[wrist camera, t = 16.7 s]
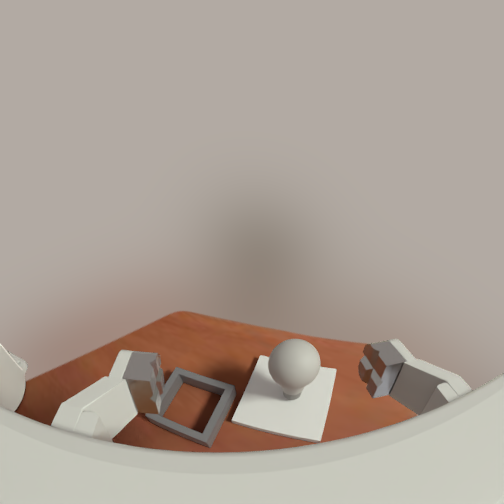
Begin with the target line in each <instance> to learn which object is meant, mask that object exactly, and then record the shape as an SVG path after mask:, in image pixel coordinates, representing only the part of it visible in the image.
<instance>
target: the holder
mask: <svg viewBox="0 0 504 504" xmlns="http://www.w3.org/2000/svg"><path fill="white" fill-rule="evenodd" d="M183 382H184V383H186V384H189V385H192V386H195V387H197V388H200V389H203V390H206V391H209V392H212V393H215V394H219V395H222V396H221V398H220V400H219V402H218V404H217V406H216V408H215V410H214V412H213V414H212V416H211V418H210V420H209V422H208V424H207V426H206V428H205V430H204V432H203V433H200V432H197V431H194V430H192V429H189V428H187V427H185V426H182V425H180V424H177V423H175V422H173V421H171V420H168V419H166V418H164V417H162V416H163V415H164V413H165V411H166V410H167V408H168V406H169V405H170V403H171V402H172V400H173V398H174V397H175V395H176V393H177V392H178V390H179V388H180V387H181V385H182V384H183ZM236 394H237V393H236V390H235V386H234V385H231V384H227V383H224V382H221V381H217V380H214V379H211V378H208V377H205V376H201V375H198V374H195V373H192V372H190V371H187V370H184V369H181V368H178V367H176V368H175V370H174V371H173V373H172V374H171V376H170V378H169V379H168V381H167V382H166V384H165V385H164V390H163V393H162V394H161V395H160V398H161V407H160V412H159V414H149V413H146V415H145V416H146V417H147V418H148V419H149V420H150V422H151V423H153V424H155V425H157V426H160V427H162V428H164V429H166V430H168V431H170V432H172V433H175V434H177V435H179V436H182V437H184V438H186V439H189V440H191V441H194V442H196V443H199V444H201V445H204V446H206V447H209V448H211V446H212V444H213V442H214V440H215V438H216V436H217V434H218V432H219V430H220V428H221V425H222V423H223V421H224V419H225V417H226V415H227V413H228V411H229V409H230V407H231V405H232V402H233V400H234V398H235V396H236Z"/></svg>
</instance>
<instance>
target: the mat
mask: <svg viewBox="0 0 504 504" xmlns="http://www.w3.org/2000/svg"><path fill="white" fill-rule="evenodd" d="M268 361H269V357H266V356H262V355H260V357H259V359H258V362H257V364H256V366H255V369H254V371H253V373H252V376H251V378H250V380H249V383H248V385H247V387H246V389H245V392H244V394H243V396H242V398H241V401H240V403H239V405H238V407H237V409H236V412H235V414H234V416H233V418H232V423H235V424H238V425H241V426H245V427H248V428H252V429H256V430H259V431H263V432H267V433H271V434H276V435H280V436H285V437H289V438H294V439H299V440H305V441H310V442H316V443H320V441H321V437H322V433H323V429H324V425H325V421H326V417H327V413H328V408H329V404H330V399H331V395H332V390H333V385H334V380H335V375H336V369H332V368H325V367H320V370H319V373H318V375H317V376H316V378H315V379H314V380H313V381H312V382H311V383H310V384H309V385H307V386H305V387H304V389H303V391H302V393H301V395H300V397H299V398H297V399H295V400H288V399H286V398H285V397H284V395H283V390H282V389H281V386H280V385H279V384H277V383H276V382H275V381H274V380H273V379H272V377H271V375H270V373H269V369H268Z"/></svg>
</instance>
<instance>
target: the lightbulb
mask: <svg viewBox="0 0 504 504" xmlns="http://www.w3.org/2000/svg"><path fill="white" fill-rule="evenodd" d="M268 369H269V373H270V375H271V377H272V379H273V380H274V381H275V382H276V383H277V384H279V385H280V386H281V389H282V390H283V395H284V397H285V398H286V399H288V400H295V399H297V398H299V397H300V395H301V393H302V391H303V389H304V387H305V386H307V385H309V384H310V383H311V382H312V381H313V380H314V379H315V378H316V376H317V375H318V373H319V370H320V357H319V354H318V352H317V350H316V349H315V347H314V346H312V345H311V344H310V343H308V342H307V341H304V340H301V339H290V340H286V341H283V342H282V343H280V344H278V345H277V346H276V347H275V348H274V349H273V351H272V353H271V354H270V357H269V361H268Z"/></svg>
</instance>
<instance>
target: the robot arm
mask: <svg viewBox="0 0 504 504" xmlns="http://www.w3.org/2000/svg"><path fill="white" fill-rule="evenodd" d="M363 353H364V355H365V356H364V357H363V358H362V359H361V360H360V363H359V366H358V367H359V375H360V378H361V380H362V381H363V382H365V383H367V387H366V388H367V390H368V392H369V393H370V395H371V397H372V398H376V397H381V396H385V395H389V394H390V395H389V396H391V397H392V398H394V399H395V400H397V401H398V402H400V403H401V404H403V405H404V406H406V407H407V408H409V409H410V410H412V411H413V412H415V413H416V414H418V415H419V416H416V417H413V418H411V419H408V420H405V421H402V422H399V423H396V424H393V425H390V426H387V427H384V428H381V429H377V430H374V431H371V432H367V433H363V434H360V435H356V436H352V437H348V438H343V439H339V440H334V441H329V442H324V443H319V444H313V445H307V446H300V447H293V448H285V449H277V450H266V451H252V452H226V453H209V452H183V451H170V450H159V449H150V448H143V447H136V446H129V445H123V444H118V443H113V441H112V438H113V437H115V436H116V435H117V434H118V433H119V432H120V431H121V430H122V429H123V428H124V427H125V426H126V425H127V424H128V423H129V422H130V421H131V420H132V419H133V418H134V417H135V416H136V415H137V414H138V413H149V414H159V412H160V407H161V398H160V395H161V394H162V393H163V390H164V374H163V370H162V369H161V368H160V364H161V359H160V355H159V354H158V353H149V352H138V351H127V350H121V351H120V352H119V354H118V356H117V358H116V360H115V363H114V365H113V367H112V370H111V372H110V374H109V377H103V378H102V379H100V380H99V381H97V382H96V383H94V384H92V385H91V386H89V387H88V388H86V389H84V390H83V391H81V392H79V393H78V394H76V395H75V396H73V397H71V398H70V399H68V400H67V401H65V402H63V403H62V404H61V405H60V407H59V409H58V411H57V414H56V416H55V418H54V420H53V422H52V424H51V426H49V425H46V424H43V423H40V422H38V421H35V420H32V419H30V418H27V417H25V416H22V415H20V414H17V413H15V412H14V411H15V410H16V409H17V408H18V406H19V404H20V403H21V400H22V398H23V395H24V392H25V374H26V371H27V368H28V364H27V363H26V362H25V361H24V360H23V359H21V358H19V357H17V356H16V355H14V354H12V353H11V352H9V351H7V350H5V348H4V347H3V346H2V344H1V343H0V504H504V373H502V374H501V375H499V376H498V377H496V378H494V379H493V380H491V381H490V382H488V383H486V384H484V385H482V386H481V387H479V388H477V389H475V390H472V389H471V388H470V387H469V386H468V384H466V382H465V381H464V380H463V379H462V378H461V377H460V376H459V375H456V374H454V373H452V372H449V371H447V370H444V369H442V368H440V367H437V366H434V365H432V364H430V363H427V362H425V361H422V360H420V359H415V358H414V356H413V355H412V354H411V353H410V352H409V351H408V350H407V348H406V347H405V346H404V345H403V344H402V343H401V342H400V341H399V340H398V339H392V340H387V341H383V342H377V343H371V344H367V345H366V346H365V347H364V350H363ZM137 412H138V413H137Z"/></svg>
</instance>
